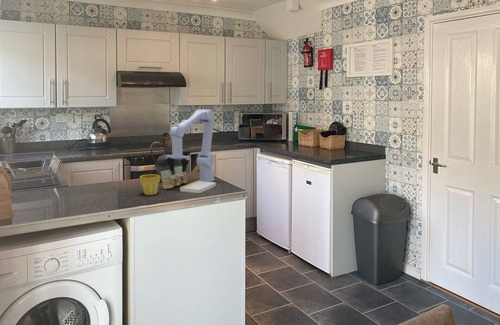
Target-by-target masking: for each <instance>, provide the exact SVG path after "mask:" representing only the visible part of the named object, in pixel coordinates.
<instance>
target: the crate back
mask: <svg viewBox="0 0 500 325" xmlns="http://www.w3.org/2000/svg"><path fill="white" fill-rule="evenodd" d="M174 169H175V174H181V173H182V166H179V167H175V168H174Z"/></svg>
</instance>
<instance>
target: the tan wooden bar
mask: <svg viewBox="0 0 500 325" xmlns="http://www.w3.org/2000/svg"><path fill="white" fill-rule="evenodd" d="M188 182H189V181H188V178H187V172H186V171H185V172H184V173H181V174H175V175H172V176H171V177H168V178H163V179H162V178H161V183H162V187H163V189H164V190H166V189H172V188H175V187H177V186H180V185H182V184H186V183H188Z"/></svg>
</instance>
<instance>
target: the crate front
mask: <svg viewBox="0 0 500 325" xmlns="http://www.w3.org/2000/svg"><path fill="white" fill-rule="evenodd" d="M161 176H162V177H161ZM161 176H160V177H161V180H162V179H163V178H168V177H171V176H172V175H171V171H170V170H165V171H161Z"/></svg>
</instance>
